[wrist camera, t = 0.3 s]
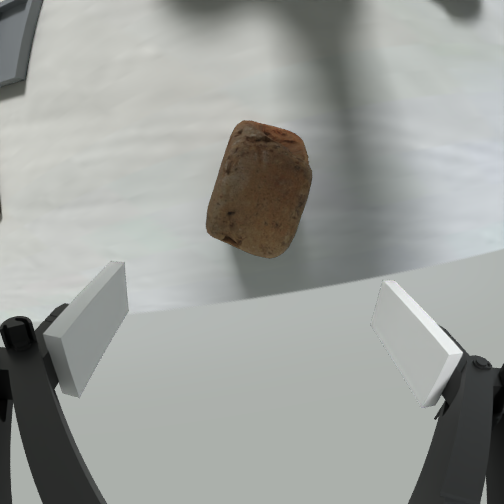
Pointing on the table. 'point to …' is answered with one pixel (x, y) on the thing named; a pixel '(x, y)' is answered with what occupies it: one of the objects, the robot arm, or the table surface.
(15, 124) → the table surface
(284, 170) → the block
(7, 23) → the grey tray
